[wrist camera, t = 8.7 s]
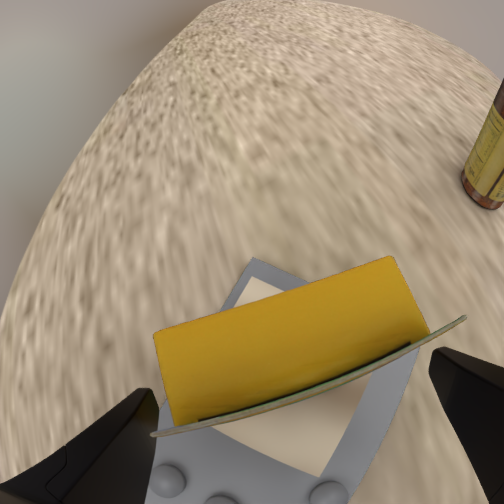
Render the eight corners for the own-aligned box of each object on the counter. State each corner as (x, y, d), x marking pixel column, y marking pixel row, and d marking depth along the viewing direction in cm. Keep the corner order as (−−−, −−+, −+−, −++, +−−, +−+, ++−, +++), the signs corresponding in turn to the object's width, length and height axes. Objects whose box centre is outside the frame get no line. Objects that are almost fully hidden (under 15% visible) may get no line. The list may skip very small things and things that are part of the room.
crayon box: (335, 333, 17) (418, 213, 7) (354, 380, 16) (476, 320, 5) (213, 373, 16) (118, 305, 6) (228, 423, 15) (147, 445, 5)
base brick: (312, 468, 16) (318, 477, 13) (188, 405, 18) (174, 404, 15) (371, 347, 19) (386, 337, 17) (254, 293, 22) (251, 276, 19)
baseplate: (292, 569, 12) (294, 579, 11) (120, 481, 16) (109, 485, 14) (418, 337, 20) (428, 331, 19) (253, 263, 24) (252, 251, 22)
